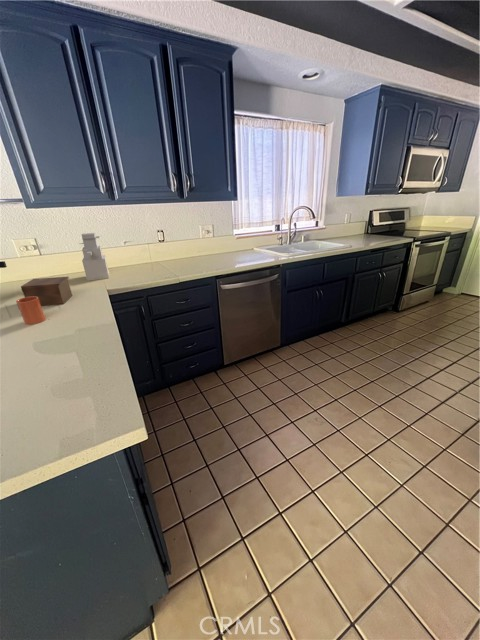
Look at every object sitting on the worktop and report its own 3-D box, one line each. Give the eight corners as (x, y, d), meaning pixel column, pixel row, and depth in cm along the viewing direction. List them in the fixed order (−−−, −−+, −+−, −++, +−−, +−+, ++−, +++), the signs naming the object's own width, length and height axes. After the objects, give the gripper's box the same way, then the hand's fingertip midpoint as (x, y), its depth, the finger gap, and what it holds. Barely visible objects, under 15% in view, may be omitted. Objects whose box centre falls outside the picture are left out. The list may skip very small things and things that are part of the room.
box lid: (69, 277, 141) (68, 276, 140) (59, 285, 129) (59, 283, 128) (34, 280, 137) (33, 278, 137) (21, 288, 125) (20, 286, 125)
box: (72, 295, 145) (67, 278, 140) (63, 304, 133) (57, 285, 128) (40, 298, 141) (34, 280, 137) (28, 307, 129) (21, 288, 125)
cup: (23, 326, 110) (14, 303, 106) (26, 319, 116) (18, 298, 112) (44, 322, 113) (36, 300, 109) (46, 316, 119) (39, 295, 115)
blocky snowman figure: (109, 271, 191) (100, 231, 180) (108, 280, 172) (98, 235, 160) (89, 273, 187) (78, 232, 175) (86, 282, 167) (74, 236, 155)
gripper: (-42, 272, 128) (14, 269, 133) (-62, 279, 116) (0, 275, 121) (-49, 256, 125) (9, 253, 130) (-71, 262, 113) (-7, 259, 118)
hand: (4, 264), depth 126 cm, fingers closed
